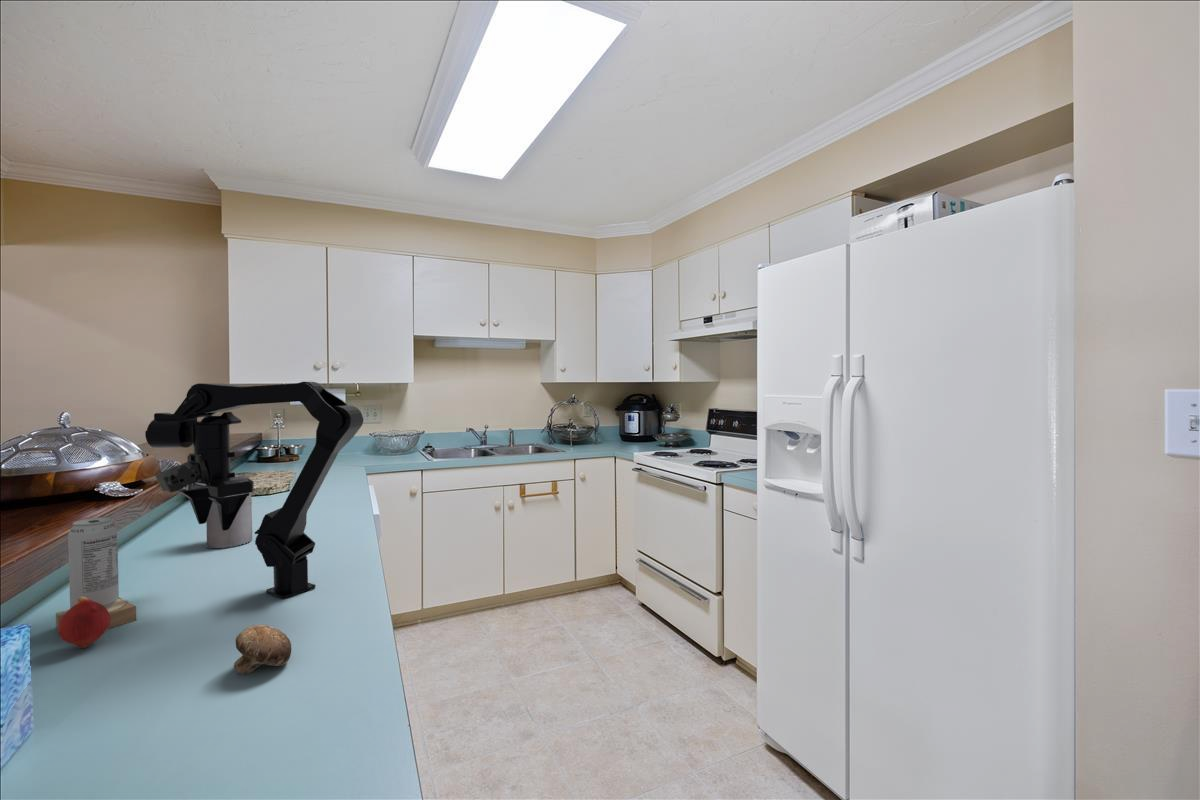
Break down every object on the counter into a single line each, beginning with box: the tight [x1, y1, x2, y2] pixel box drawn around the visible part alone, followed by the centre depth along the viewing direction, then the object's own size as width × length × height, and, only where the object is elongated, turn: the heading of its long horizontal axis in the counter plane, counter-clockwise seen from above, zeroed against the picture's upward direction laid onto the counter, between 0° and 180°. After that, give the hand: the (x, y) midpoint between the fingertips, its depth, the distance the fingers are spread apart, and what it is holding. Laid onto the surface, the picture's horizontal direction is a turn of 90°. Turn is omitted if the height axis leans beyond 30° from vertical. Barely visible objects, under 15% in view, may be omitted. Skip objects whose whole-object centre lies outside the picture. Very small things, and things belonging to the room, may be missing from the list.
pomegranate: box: [57, 597, 111, 649], centre depth 82 cm, size 6×6×8 cm
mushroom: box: [233, 624, 292, 675], centre depth 77 cm, size 8×8×6 cm
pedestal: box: [55, 597, 137, 630], centre depth 90 cm, size 8×8×3 cm
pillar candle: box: [205, 492, 253, 549], centre depth 136 cm, size 10×10×15 cm
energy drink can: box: [67, 516, 120, 609], centre depth 90 cm, size 6×6×15 cm
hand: (213, 526), depth 104 cm, fingers open, 9 cm apart
